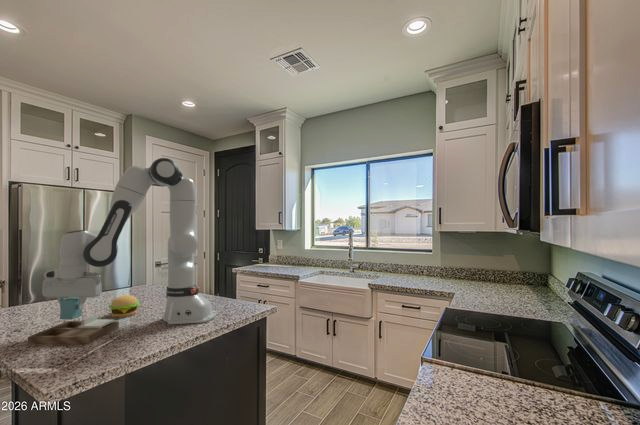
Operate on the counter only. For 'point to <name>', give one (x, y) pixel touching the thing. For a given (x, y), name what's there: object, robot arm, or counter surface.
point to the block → (70, 308)
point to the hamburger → (124, 306)
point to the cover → (94, 322)
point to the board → (71, 334)
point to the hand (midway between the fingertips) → (71, 308)
